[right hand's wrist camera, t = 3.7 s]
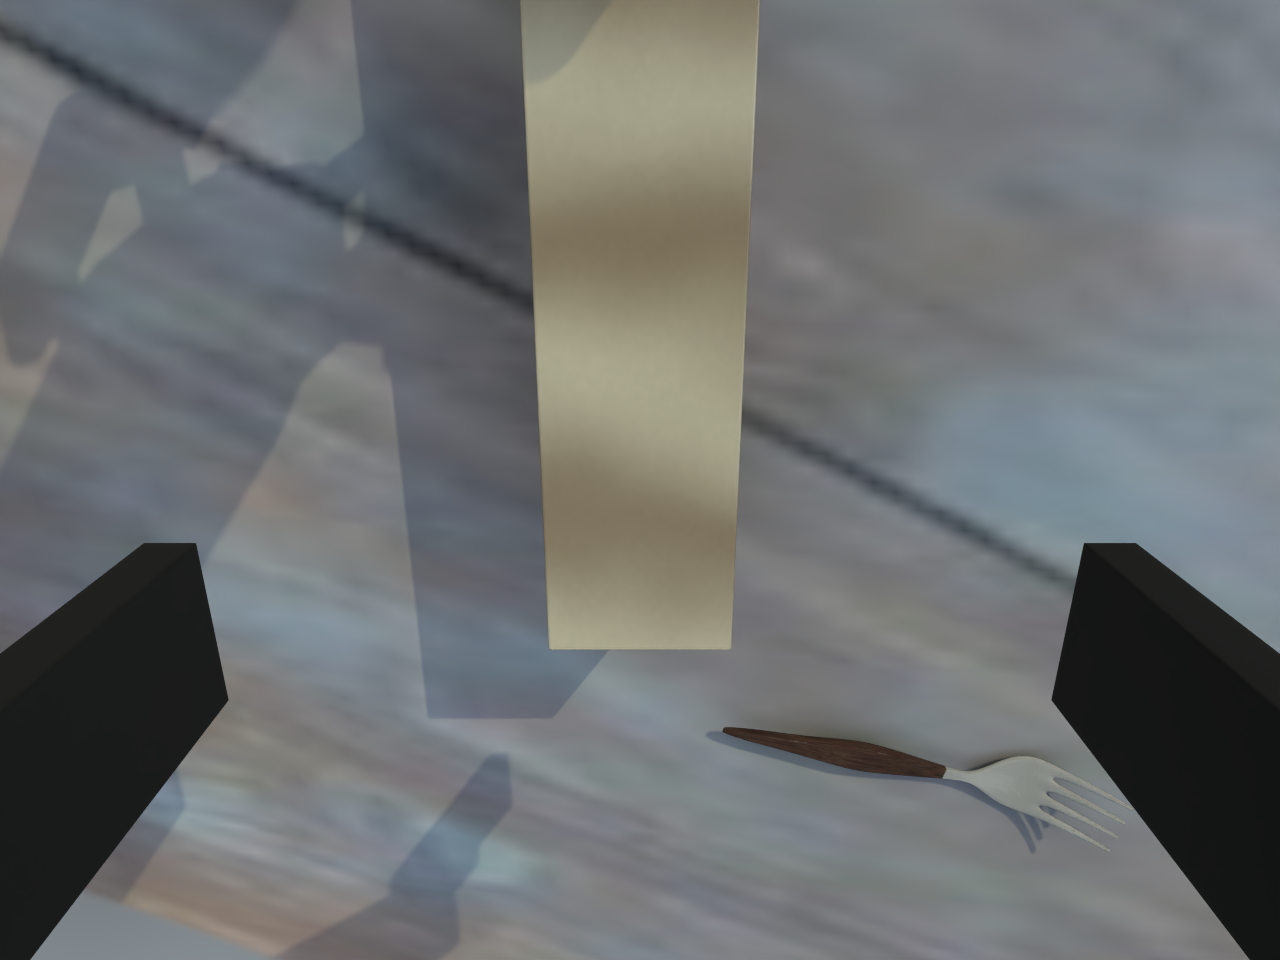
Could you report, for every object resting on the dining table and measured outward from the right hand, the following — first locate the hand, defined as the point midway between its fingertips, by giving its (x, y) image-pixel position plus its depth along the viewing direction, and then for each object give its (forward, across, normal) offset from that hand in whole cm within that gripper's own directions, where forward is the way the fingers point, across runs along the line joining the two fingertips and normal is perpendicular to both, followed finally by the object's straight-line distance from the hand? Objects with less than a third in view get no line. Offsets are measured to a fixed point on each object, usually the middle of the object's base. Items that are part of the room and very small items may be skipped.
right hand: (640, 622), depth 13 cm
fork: (+17, -11, +16) cm, 26 cm away
